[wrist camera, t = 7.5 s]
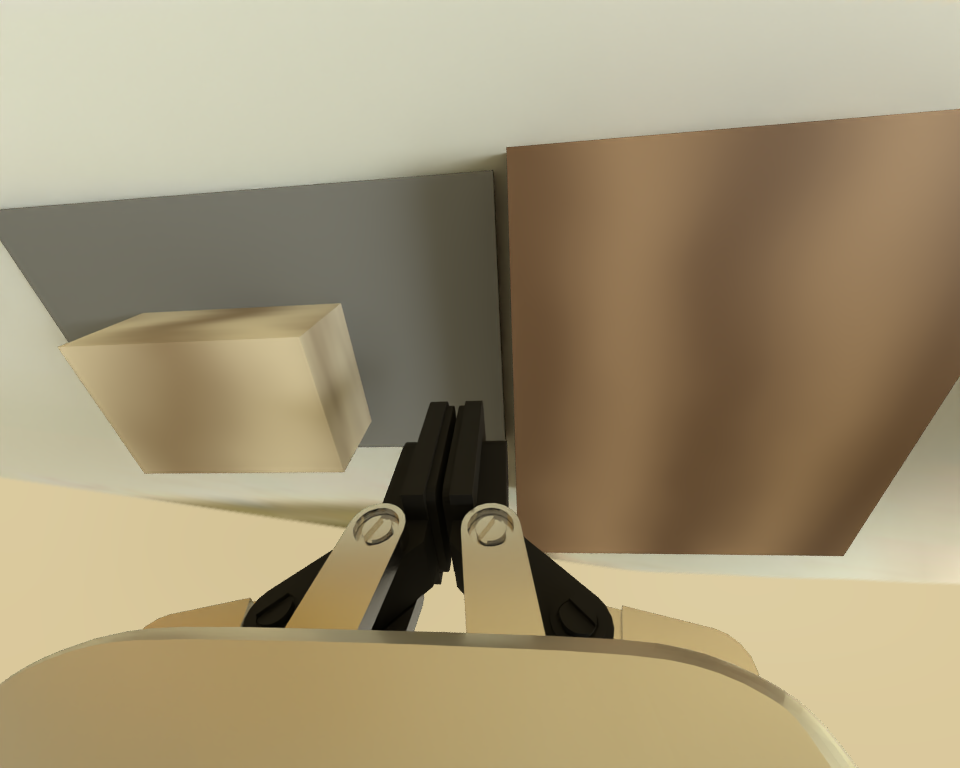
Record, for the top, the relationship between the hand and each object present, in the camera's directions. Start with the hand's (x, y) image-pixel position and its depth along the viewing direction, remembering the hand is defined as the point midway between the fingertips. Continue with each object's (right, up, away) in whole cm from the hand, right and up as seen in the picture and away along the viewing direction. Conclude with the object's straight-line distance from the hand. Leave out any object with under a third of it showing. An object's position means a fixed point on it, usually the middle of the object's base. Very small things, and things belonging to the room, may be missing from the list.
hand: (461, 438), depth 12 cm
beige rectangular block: (-10, +1, +2) cm, 10 cm away
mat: (-8, +4, +5) cm, 11 cm away
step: (+9, +3, +4) cm, 10 cm away
